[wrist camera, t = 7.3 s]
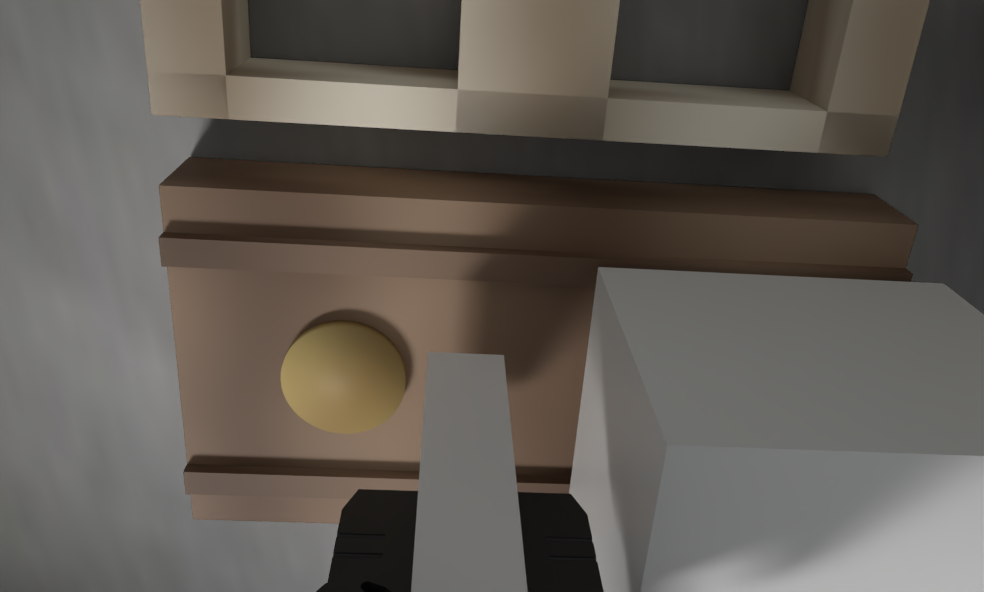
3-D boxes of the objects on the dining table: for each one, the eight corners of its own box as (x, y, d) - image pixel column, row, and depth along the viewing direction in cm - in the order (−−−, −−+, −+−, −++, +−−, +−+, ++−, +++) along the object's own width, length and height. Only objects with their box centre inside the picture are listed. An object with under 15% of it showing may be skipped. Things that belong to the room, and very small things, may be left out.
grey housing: (566, 512, 19) (609, 756, 13) (597, 266, 16) (667, 445, 11) (868, 521, 19) (1028, 761, 14) (943, 283, 17) (1175, 462, 11)
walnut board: (215, 466, 21) (189, 527, 19) (189, 157, 18) (154, 190, 16) (796, 485, 22) (831, 546, 20) (874, 194, 19) (925, 229, 17)
